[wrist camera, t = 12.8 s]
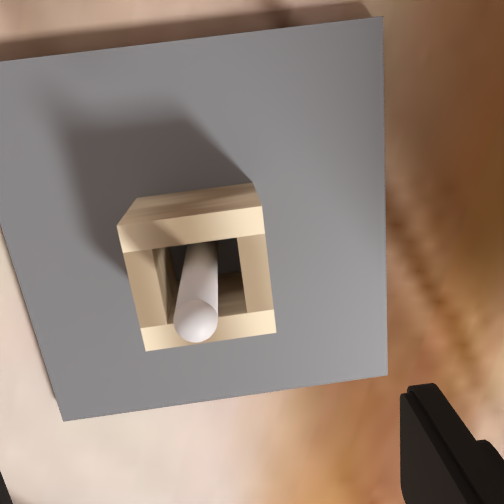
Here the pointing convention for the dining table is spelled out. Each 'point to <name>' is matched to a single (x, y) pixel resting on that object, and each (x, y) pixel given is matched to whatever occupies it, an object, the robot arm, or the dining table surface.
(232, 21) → the dining table surface
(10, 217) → the grey peg base
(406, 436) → the robot arm
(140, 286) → the cream square box
